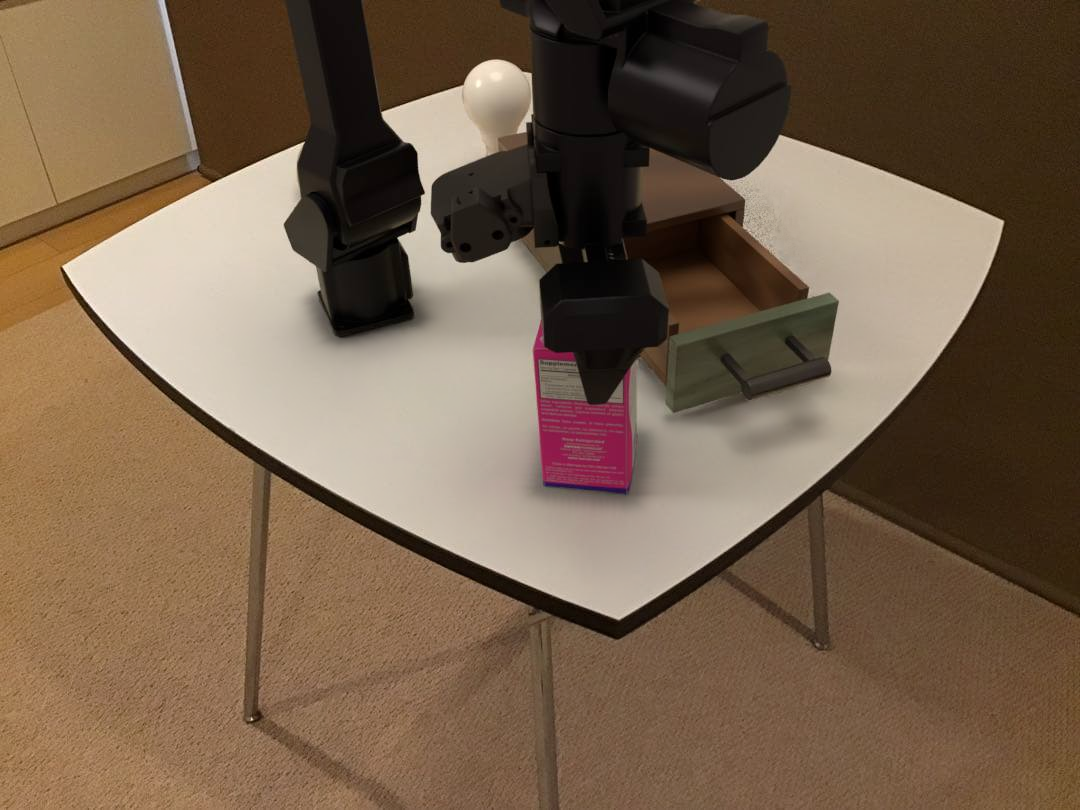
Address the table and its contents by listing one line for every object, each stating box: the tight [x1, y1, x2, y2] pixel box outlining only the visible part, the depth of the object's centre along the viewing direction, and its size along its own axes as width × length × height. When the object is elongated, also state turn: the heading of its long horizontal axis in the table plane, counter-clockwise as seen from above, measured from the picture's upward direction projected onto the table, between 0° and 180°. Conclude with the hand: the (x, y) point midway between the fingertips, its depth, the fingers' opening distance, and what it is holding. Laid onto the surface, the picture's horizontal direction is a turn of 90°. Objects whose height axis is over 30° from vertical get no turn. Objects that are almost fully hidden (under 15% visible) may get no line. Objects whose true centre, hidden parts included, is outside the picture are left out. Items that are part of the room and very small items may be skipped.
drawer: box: [623, 213, 840, 414], centre depth 76 cm, size 22×12×6 cm, turn 22°
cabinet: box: [498, 131, 747, 273], centre depth 87 cm, size 19×14×8 cm
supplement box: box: [532, 320, 638, 495], centre depth 65 cm, size 6×6×12 cm
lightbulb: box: [461, 59, 532, 156], centre depth 97 cm, size 6×6×11 cm
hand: (589, 354), depth 63 cm, fingers open, 9 cm apart
